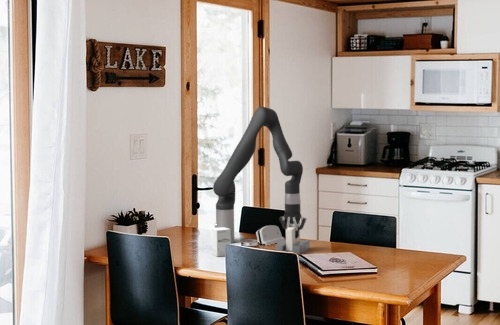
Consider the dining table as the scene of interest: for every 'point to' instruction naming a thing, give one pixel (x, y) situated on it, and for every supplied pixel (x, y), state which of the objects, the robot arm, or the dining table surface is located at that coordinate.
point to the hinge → (269, 235)
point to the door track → (294, 246)
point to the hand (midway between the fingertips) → (293, 237)
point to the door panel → (291, 237)
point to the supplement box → (219, 240)
